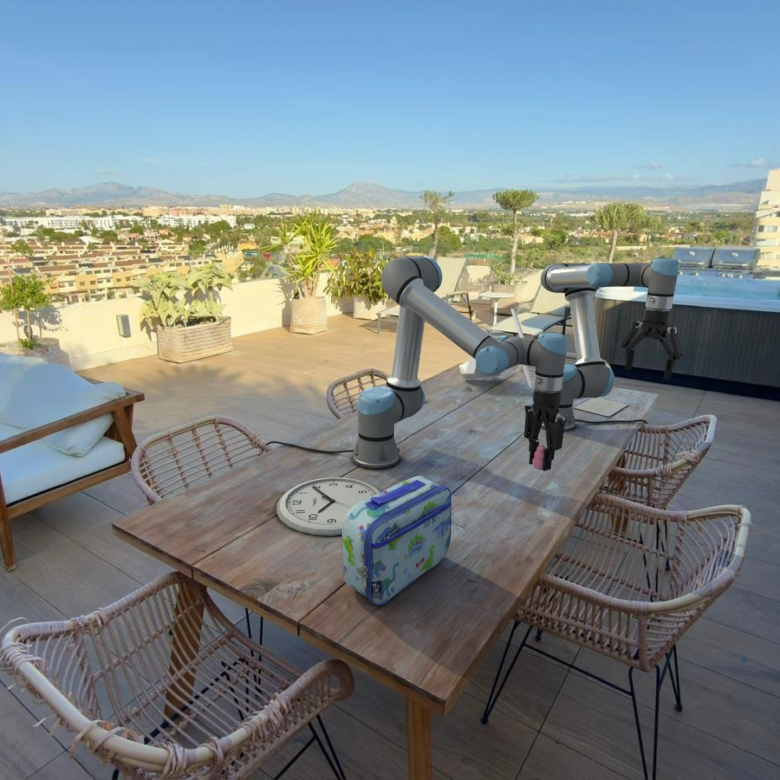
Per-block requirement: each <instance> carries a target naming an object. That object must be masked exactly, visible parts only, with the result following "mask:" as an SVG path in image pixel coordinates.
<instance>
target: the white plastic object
mask: <svg viewBox="0 0 780 780" xmlns="http://www.w3.org/2000/svg"><path fill="white" fill-rule="evenodd" d="M510 311H511V315H512V319H513V321H514V324H515V327H516V330H517V333H518V337H521V338H525V335H524V332H523V329H522V326H521V322H520V320H519V317H518V314H517V312H516V311H515V309H514V308H510ZM521 366H522V369H523V372H524V375H525V379H526V382H527V385H528V387H529V388H530V390H531V391H532V392H533V390H534V389H535V387H534V382H533V379H532V376H531V373H530V370H529V369H530V368H529V366H527V365H521ZM458 368H459V371H460V375H461V376H462V378H463V379H464V380H474V379H483V378H484V379H485V378H492V379H495V378H497V377H500V376H502V373H500V374H496V375H485V374H483V373H481V372H480V371H479V370H478V367H477V365H476V360H475V359H474V358H473V357H471V356H470V355H469V358H468V361H465V362H464V363H461V364H459V365H458Z"/></svg>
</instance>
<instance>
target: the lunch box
mask: <svg viewBox="0 0 780 780" xmlns="http://www.w3.org/2000/svg"><path fill="white" fill-rule="evenodd" d="M452 511H453V510H452V491H451V489H450V487H449V486H447V485H444V484H442V485H440V484H437V483H436V482H434V481H432V480H430V479H428V478H427V477H425V476H422V475H416V476H413V477H411V478H408V479H406V480H403V481H401V482H399V483H397V484H395V485H393V486H390V487H388V488H386V489H384V490H382V491H381V492H380V493H378V494H376V495H374V496H372V497H370V498H368V499H366V500H364V501H362V502H360V503H358V504H356V505H354V506H353V507H352V508H351V509H350V510H349V511H348V512H347V514H346V516H345V518H344V521H343V525H342V535H341V543H342V544H341V545H342V569H343V578H344V583H345V585H346V586H347V587H349V588H351V589H352V590H354V591H356V592H357V593H360V594H361V595H362V596H363V597H365V598H367V601H369V603H372V604H373V605H376V606H383V605H385V604H386V603H388V602H389V601H390V600H391V599H392V598H394V597H395V596H396V595H397V594H399V593H400V592H401V591H403V590H404V589H406V588H407V587H408V586H410V585H411V584H413V583H414V582H416V580H417V579H418V578H420V576H422V575H423V574H425V573H426V572H428V571H430V570H432V569H433V568H435V567H436V566H438V565H439V564H440V563H441V562H442V561H443V560H444V558H445V557H446V555H447V552H448V551H449V548H450V544H451V539H452V515H453V514H452Z"/></svg>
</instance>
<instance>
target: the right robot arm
mask: <svg viewBox="0 0 780 780" xmlns="http://www.w3.org/2000/svg"><path fill="white" fill-rule="evenodd" d="M679 268H680V261H679V260H678V259H676V258H654V259H653V260H652V263H645V262H640V261H639V262H626V263H625V262H620V263H618V262H617V263H616V262H607V263H606V262H598V263H587V262H557V263H552V264H549V265H548V266H546V267H545V268H544V269H543V270H542V272H541V274H540V284H541V286H542V288H544V289H545V290H546V291H548V292H550V293H554V294H563V295H564V299H565V301H567V302H568V303H569V308H570V316H571V324H572V331H573V333H572V334H573V337H574V338H573V340H574V349H575V355H576V362H575V363H574V364H571V363H570V364H569V363H565V366H564V374H563V386H562V390H560V391H561V392H562V394H561V403H560V405H559V407H558V408H559V414H560V415H562V416H563V417H565V416H566V417H567V421H566V423H565V426H564V432H567V431H572V430H574V429H575V428H576V422H578V423H585V424H591V425H593V424H595V425H597V424H609V423H610V424H613V423H614V424H615V423H616V424H617V423H620V424H621V423H627V424H628V423H629V424H630V423H639V422H643V423H645V425H648V424H649V423H648V421H646V420H645V419H639V418H638V419H632V420H626V419H625V420H624V419H623V420H621V419H620V420H599V421H597V420H596V421H588V420H584V419H576V418H575V417H576V416H575V413H574V407H573V405H574V400H575V399H576V400H577V399H592V398H605V397H606V396H608V395H609V394H610V393H611V392H612V390H613V388H614V385H615V374H614V372H613V370H612V369H611V368H610V367H608V366H606V361H605V360H604V359H602V358H601V353H600V346H599V345H600V344H599V338H598V330H597V322H596V315H595V308H594V307H595V306H594V300H593V299H594V298H595V297H596V295H597V291H599V289H600V288H636V287H637V288H645V289H647V293H646V301H645V309H644V311H643V317H642V319H643V322H642V321H640V320H636V321H633V323H632V327H631V329H630V330H629V332H628V333H627V334H626V336H625V338H624V339H623V341H622V342H621V344H620V347H621V348H623V349H624V350H625V353H624V360H625V366H624V370H625V371H630V370H632V369H633V364H634V357H635V347H637V345H638V344H640V343H641V342H642V341H643V340H644V339H645V338H647V339H653V340H658V341H659V343H660V344H661V346H662V348H663V349H664V351H665V353H666V355H667V356H668V358H667V359H666V362H665V368H664V374H663V380H664V381H667V380H671V378H672V374H673V373H672V372H673V371H674V370H675V369H676V367H677V361H678V360H681V359H684V358H685V354H684V351H683V348H682V345H681V341H680V337H679V328H678V327H677V326H675V327H669V324H670V320H671V315H672V313H671V312H672V311H671V310H672V309H673V304H674V297H675V292H676V287H677V282H678V276H679V270H680V269H679ZM640 329H642V331H641V332H640V333H639V334H638V336H636V335H637V333H638V332H639V331H640ZM667 333H668V334H667ZM668 335H669V336H668ZM635 336H636V337H635ZM669 339H670V340H669ZM555 420H556V418H555ZM549 423H550V422H549ZM541 429H544V430H546V428H545V426H544V422H543V423H542V426H541Z"/></svg>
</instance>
